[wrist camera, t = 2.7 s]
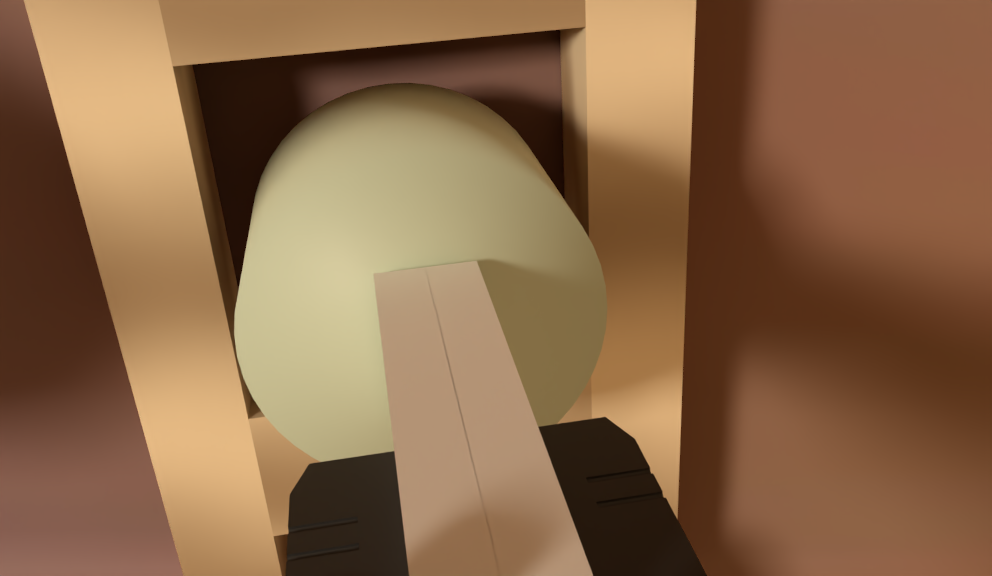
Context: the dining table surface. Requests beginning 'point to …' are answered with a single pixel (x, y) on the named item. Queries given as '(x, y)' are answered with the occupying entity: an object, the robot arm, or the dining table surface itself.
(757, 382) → the dining table surface
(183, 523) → the wooden ladder frame
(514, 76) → the dining table surface
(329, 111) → the olive rounded lump
